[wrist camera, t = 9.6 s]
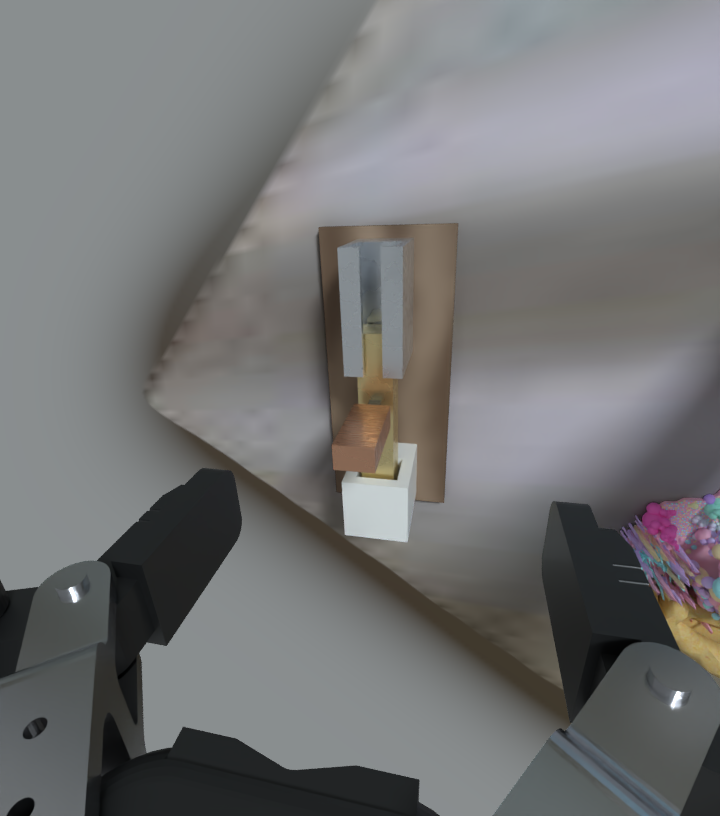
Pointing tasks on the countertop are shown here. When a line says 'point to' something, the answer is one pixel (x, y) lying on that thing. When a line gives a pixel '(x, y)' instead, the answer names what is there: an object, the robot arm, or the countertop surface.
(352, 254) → the sleeve
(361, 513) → the socket
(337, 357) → the base board
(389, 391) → the sliding latch bolt
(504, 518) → the countertop surface
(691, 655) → the candy landscape model
